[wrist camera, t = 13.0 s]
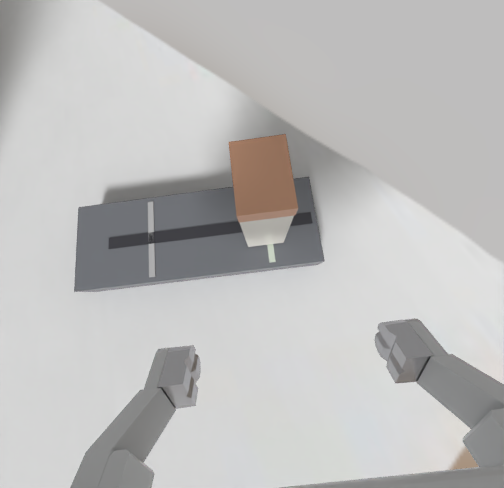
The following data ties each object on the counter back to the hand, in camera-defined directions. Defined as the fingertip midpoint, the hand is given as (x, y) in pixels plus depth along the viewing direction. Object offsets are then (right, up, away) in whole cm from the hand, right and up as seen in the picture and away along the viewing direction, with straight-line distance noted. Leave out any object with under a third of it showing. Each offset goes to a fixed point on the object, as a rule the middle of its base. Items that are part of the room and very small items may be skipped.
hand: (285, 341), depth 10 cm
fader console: (-7, +5, +16) cm, 18 cm away
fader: (0, +6, +13) cm, 14 cm away
